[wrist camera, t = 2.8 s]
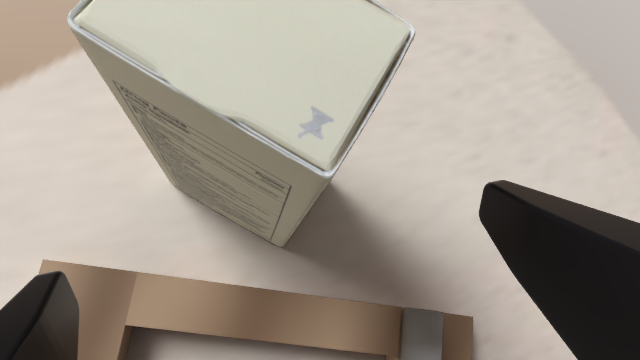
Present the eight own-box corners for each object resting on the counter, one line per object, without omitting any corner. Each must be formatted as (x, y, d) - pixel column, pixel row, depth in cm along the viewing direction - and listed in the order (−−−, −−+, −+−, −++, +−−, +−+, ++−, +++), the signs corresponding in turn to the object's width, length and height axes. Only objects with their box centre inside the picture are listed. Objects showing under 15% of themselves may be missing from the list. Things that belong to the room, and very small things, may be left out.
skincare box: (327, 174, 21) (437, 31, 10) (281, 251, 20) (345, 192, 8) (213, 105, 21) (187, -125, 10) (160, 178, 20) (53, 15, 8)
